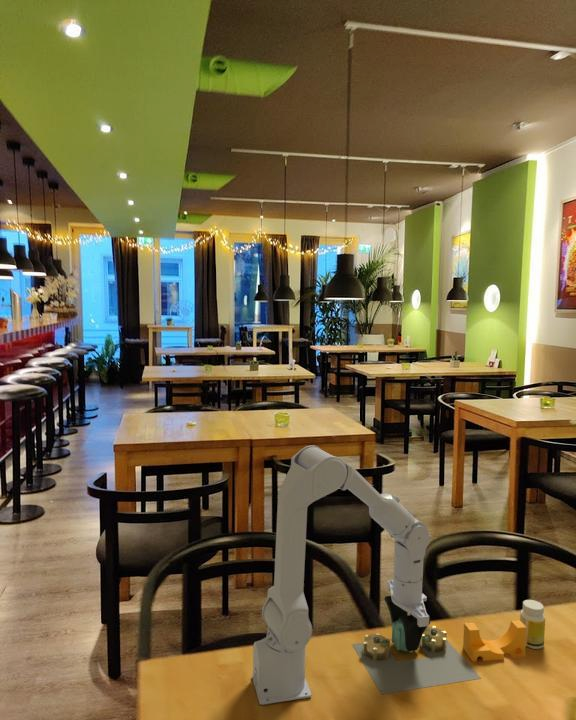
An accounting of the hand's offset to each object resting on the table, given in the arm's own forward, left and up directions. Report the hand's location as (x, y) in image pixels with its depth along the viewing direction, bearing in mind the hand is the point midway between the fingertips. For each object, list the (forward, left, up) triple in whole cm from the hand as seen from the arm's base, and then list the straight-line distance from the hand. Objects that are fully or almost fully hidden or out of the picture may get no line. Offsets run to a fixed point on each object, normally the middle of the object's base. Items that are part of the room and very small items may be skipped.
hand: (405, 640), depth 108 cm
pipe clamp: (+18, -5, -3) cm, 19 cm away
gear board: (0, -4, -3) cm, 5 cm away
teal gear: (0, 0, -1) cm, 1 cm away
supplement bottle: (+28, -2, -3) cm, 28 cm away
